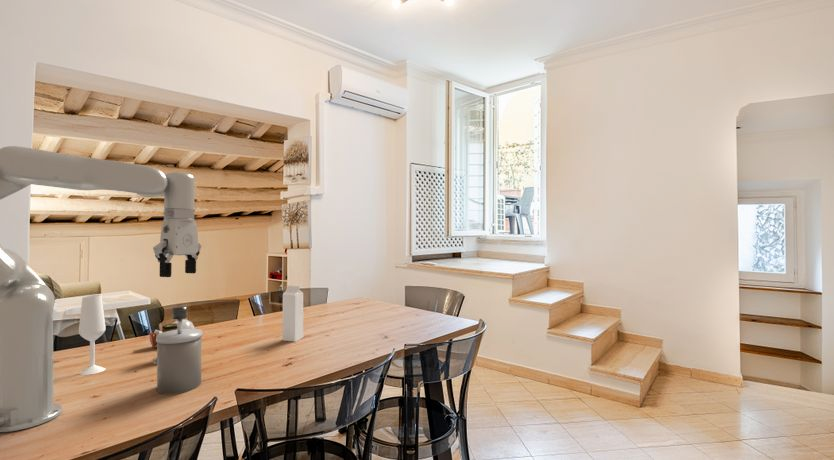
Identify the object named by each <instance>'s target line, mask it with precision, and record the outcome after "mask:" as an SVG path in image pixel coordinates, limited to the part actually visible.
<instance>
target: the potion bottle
mask: <svg viewBox="0 0 834 460" xmlns="http://www.w3.org/2000/svg"><path fill="white" fill-rule="evenodd" d="M171 324H177V320H176V321H174V322H171ZM182 329H196V328H195V326H194V324H193V322H192V321H190V320H188V319H186V318H183V319H182ZM160 333H162V330H158V329H155V330H154V332H149V342H150V344H151V347H152V349H154V348H155V347H157V342H156V336H157V335H158V334H160Z"/></svg>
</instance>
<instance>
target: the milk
mask: <svg viewBox="0 0 834 460" xmlns="http://www.w3.org/2000/svg"><path fill="white" fill-rule="evenodd" d="M303 338H304V292H303V291H301V290H300V285H286V290H285V291H284V292H283V293H282V341H288V342H297V341H299V340H302V339H303Z"/></svg>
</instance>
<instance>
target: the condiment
mask: <svg viewBox="0 0 834 460" xmlns="http://www.w3.org/2000/svg"><path fill="white" fill-rule="evenodd" d="M172 330H177V324H172V323H167V324H164V325H162V330H161V331H162V333H163V332H167V331H172ZM153 365H157V356H156V357H153Z"/></svg>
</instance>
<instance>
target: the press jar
mask: <svg viewBox="0 0 834 460" xmlns="http://www.w3.org/2000/svg"><path fill="white" fill-rule="evenodd" d="M203 334H204V333H203V330H202V329H200V328H199V329H198V328H195V329H182V333H181V334H177V330H172V331H167V332H163V333H160V334H158V335H157V336H156V342H157V345H156V347H157V348H156V352H157V356H156V357H157V364H156V371H157V372H156V380H157V381H156V382H157V383H156V387H157V389H156V390H157V392H158V393H159V394H164V395H171V394H172V395H174V394H175V395H176V394H180V393H185V392H189V391H192V390H194V389H197V388H198V387H200V386H201V384H202V337H203Z"/></svg>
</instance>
